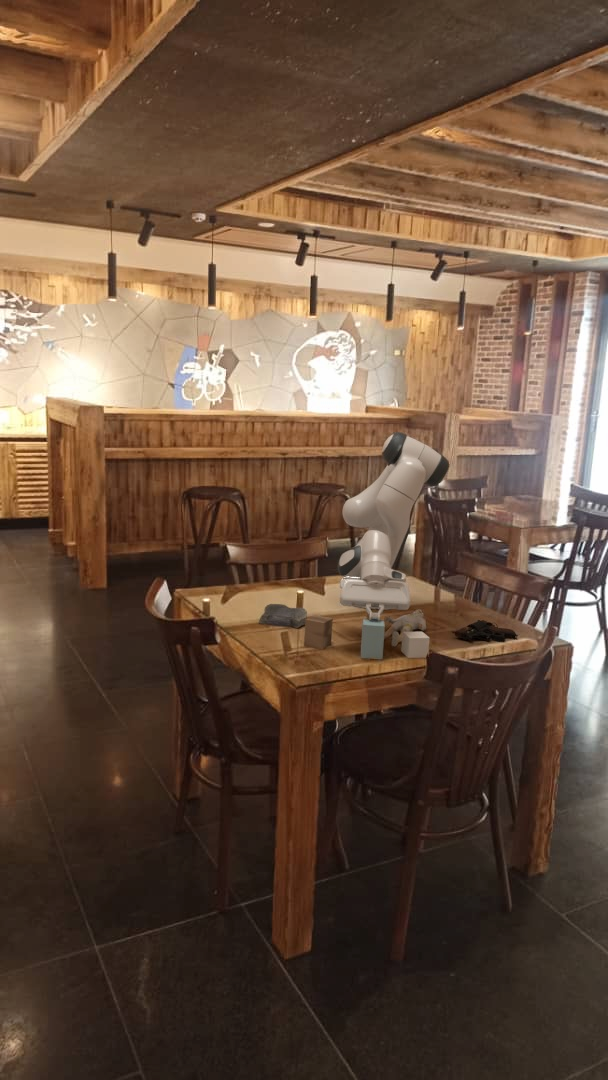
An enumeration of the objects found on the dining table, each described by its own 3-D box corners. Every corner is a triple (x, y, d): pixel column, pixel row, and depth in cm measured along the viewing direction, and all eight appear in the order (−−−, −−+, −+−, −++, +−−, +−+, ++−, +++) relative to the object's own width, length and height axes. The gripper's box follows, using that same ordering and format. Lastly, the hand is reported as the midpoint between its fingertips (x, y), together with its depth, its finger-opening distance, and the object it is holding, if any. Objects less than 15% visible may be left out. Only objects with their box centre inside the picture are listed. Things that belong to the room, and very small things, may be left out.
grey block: (401, 651, 230) (402, 631, 229) (420, 651, 231) (422, 631, 230) (408, 658, 224) (409, 638, 223) (427, 657, 226) (429, 637, 224)
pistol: (522, 629, 250) (480, 614, 259) (495, 642, 235) (452, 625, 244) (519, 642, 251) (477, 626, 260) (493, 655, 236) (449, 638, 245)
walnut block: (313, 640, 235) (314, 614, 234) (331, 644, 233) (332, 618, 231) (303, 645, 230) (305, 619, 229) (322, 649, 227) (323, 623, 226)
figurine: (365, 625, 237) (402, 600, 263) (364, 644, 239) (401, 618, 264) (406, 633, 231) (440, 607, 257) (405, 653, 233) (438, 625, 258)
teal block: (360, 652, 227) (362, 618, 225) (381, 653, 227) (383, 620, 225) (360, 658, 221) (363, 624, 219) (382, 660, 221) (384, 626, 219)
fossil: (301, 630, 246) (302, 619, 245) (254, 624, 250) (254, 612, 249) (313, 618, 260) (314, 607, 260) (268, 612, 264) (269, 601, 264)
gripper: (340, 570, 229) (338, 611, 221) (411, 574, 228) (411, 616, 220) (340, 581, 234) (337, 622, 226) (408, 586, 233) (408, 627, 225)
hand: (374, 619), depth 223 cm, fingers closed
